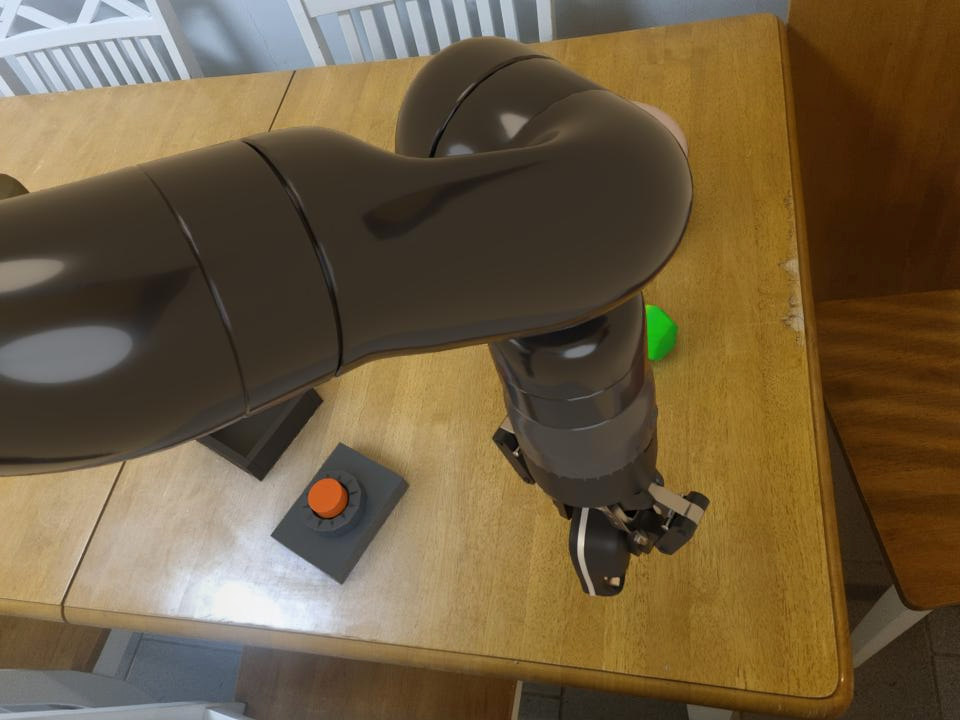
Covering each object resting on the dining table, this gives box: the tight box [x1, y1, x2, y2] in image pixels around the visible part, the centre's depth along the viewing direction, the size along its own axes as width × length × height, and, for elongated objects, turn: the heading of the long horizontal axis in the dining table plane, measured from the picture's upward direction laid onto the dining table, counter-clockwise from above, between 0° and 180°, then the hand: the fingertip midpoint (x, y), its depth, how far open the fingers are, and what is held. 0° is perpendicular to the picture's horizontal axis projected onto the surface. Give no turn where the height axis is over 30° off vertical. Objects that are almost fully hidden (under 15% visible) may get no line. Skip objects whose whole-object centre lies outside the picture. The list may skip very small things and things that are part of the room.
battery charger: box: [568, 506, 632, 598], centre depth 53 cm, size 7×4×11 cm, turn 167°
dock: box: [194, 388, 324, 482], centre depth 85 cm, size 12×12×4 cm
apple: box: [645, 304, 679, 362], centre depth 78 cm, size 7×6×9 cm
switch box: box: [269, 441, 410, 586], centre depth 76 cm, size 12×9×4 cm
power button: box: [308, 478, 348, 518], centre depth 74 cm, size 4×4×2 cm
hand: (606, 524), depth 52 cm, fingers closed on battery charger, 5 cm apart
